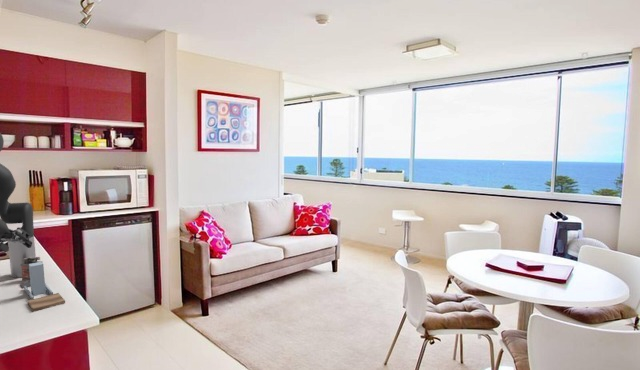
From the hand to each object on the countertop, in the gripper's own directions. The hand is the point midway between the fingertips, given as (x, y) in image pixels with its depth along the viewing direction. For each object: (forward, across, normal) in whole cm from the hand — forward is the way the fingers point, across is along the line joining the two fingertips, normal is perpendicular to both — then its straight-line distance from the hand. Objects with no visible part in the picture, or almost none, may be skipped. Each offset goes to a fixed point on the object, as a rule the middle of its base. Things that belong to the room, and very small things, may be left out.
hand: (19, 247), depth 135 cm
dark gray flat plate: (+26, +12, +1) cm, 28 cm away
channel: (+20, +3, +9) cm, 22 cm away
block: (+20, +3, +9) cm, 22 cm away
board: (+14, -7, +17) cm, 23 cm away
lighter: (+29, +15, -4) cm, 33 cm away
